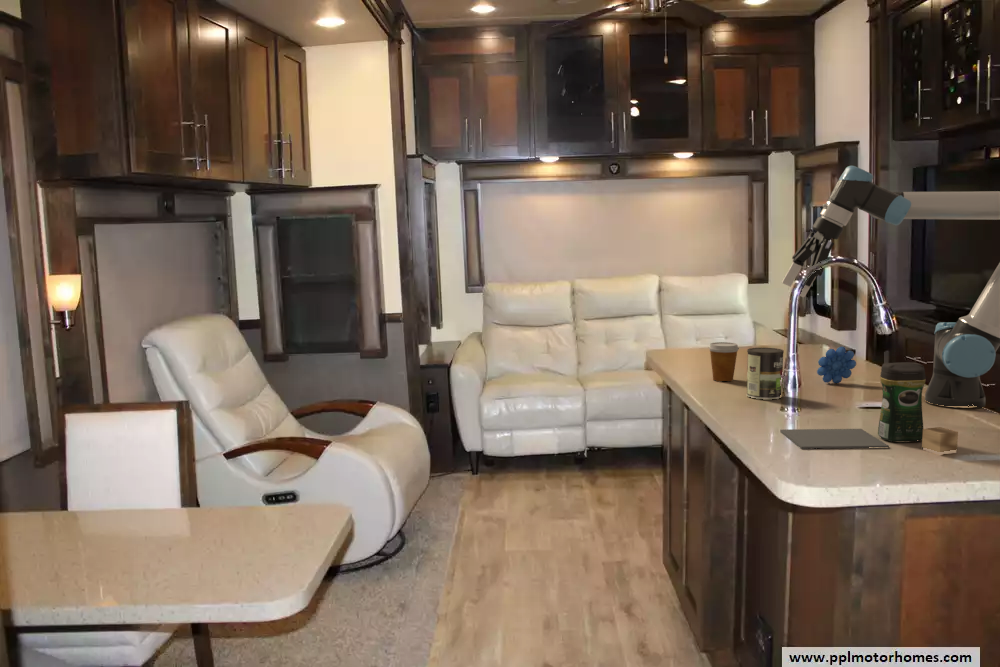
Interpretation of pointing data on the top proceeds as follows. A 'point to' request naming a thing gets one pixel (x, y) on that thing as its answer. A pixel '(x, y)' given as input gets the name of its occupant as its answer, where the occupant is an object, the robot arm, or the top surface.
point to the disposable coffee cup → (723, 360)
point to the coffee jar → (901, 401)
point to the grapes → (836, 365)
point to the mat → (832, 438)
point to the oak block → (939, 439)
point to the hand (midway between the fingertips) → (792, 290)
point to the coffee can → (764, 373)
